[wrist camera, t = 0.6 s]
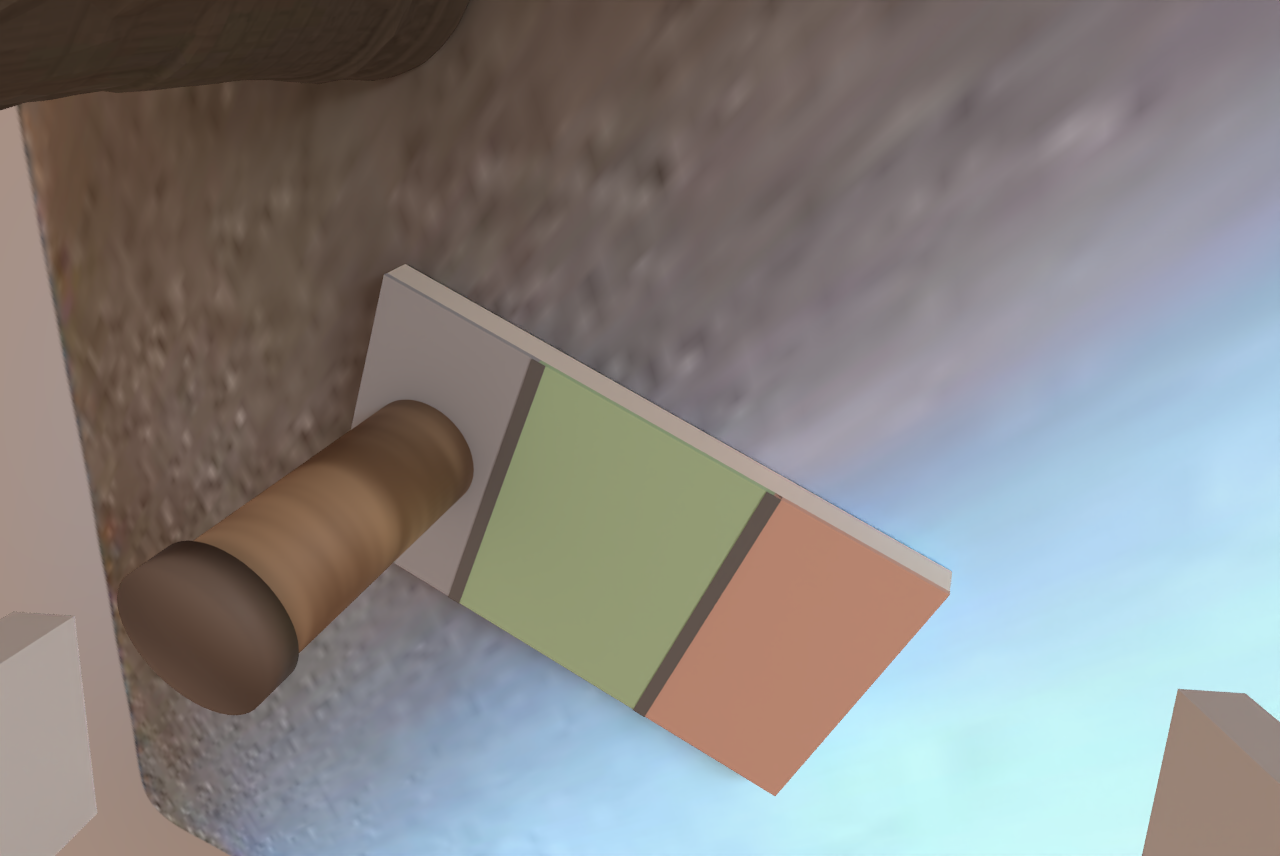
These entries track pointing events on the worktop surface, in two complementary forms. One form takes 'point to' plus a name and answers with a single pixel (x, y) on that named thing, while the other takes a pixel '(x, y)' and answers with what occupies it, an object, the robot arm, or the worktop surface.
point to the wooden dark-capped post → (292, 558)
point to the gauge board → (643, 542)
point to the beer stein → (210, 42)
